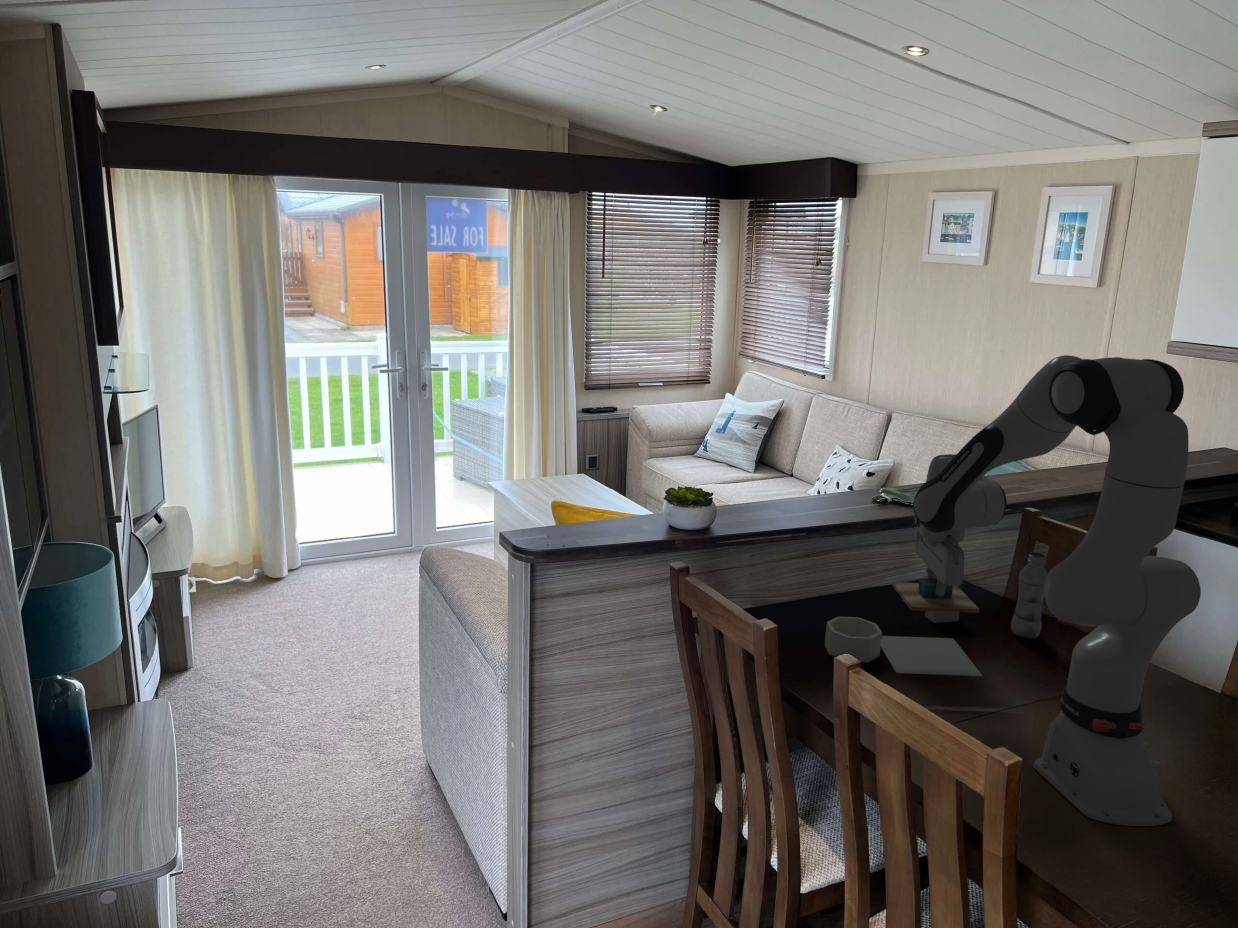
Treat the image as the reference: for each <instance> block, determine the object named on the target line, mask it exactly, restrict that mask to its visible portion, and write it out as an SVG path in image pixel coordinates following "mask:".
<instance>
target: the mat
mask: <svg viewBox="0 0 1238 928" xmlns="http://www.w3.org/2000/svg"><path fill="white" fill-rule="evenodd" d="M880 649H882V651H883V653H884V655H885V657H886V658H887V659H888V662H889V663H890V664H891V666H892V668H893V670H894V671H895V673H896V674H908V675H909V674H911V675H912V674H913V675H916V674H917V675H937V676H938V675H940V676H941V675H943V676H965V677H966V676H967V677H968V676H969V677H983V674H982V673H981V672H980V670H979V669H978V668H977V667H976V665H975V664H974V663H973V662H972V660H971V659H970V658H969V657H968V655H967V654H966V653H965V652H964V650H963V649H962V647H961V646H960V645H959V644H958V642H957V641H956V640H955V639H954V638H953V637H950V638H949V637H926V636H924V637H923V636H920V637H919V636H898V635H897V636H895V635H894V636H893V635H882V639H881V648H880Z"/></svg>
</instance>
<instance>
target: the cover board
mask: <svg viewBox="0 0 1238 928" xmlns="http://www.w3.org/2000/svg"><path fill="white" fill-rule="evenodd" d="M937 581H938V580H937V579H927V578H919V582H900V581H898V582H897V581H892V585H891V586H892V587H893V588H894V590H895V591H896V593H898V595H899V596H900V598H901V600H902V601H904V603H905V605H906V606H907V607H908V608H909V610H910V611H912V612H913V611H915V612H917V611H920V612H925V611H940V612H960V613H975V614H977V613H978V614H979V613H980V608H979V607H978V606H977V605H976V603H974V602H973V601H972V600H971V598H970V597H969V596H968V595H967V594H966V593H965V592H964V591H963V590H962V589H961V588H960V586H959V587H958V586H947V587H946V588H945V594H944V596H937V595H936V594H935V593H934V587H935V585H936V584H937Z"/></svg>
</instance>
